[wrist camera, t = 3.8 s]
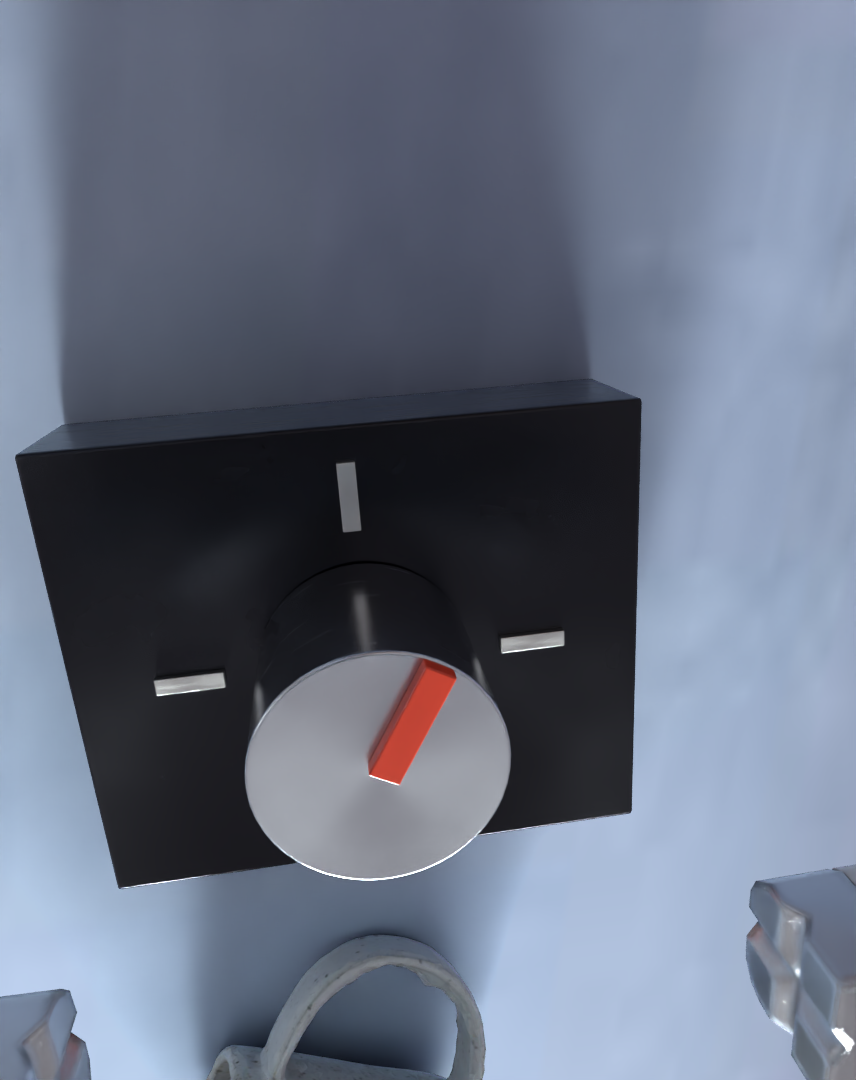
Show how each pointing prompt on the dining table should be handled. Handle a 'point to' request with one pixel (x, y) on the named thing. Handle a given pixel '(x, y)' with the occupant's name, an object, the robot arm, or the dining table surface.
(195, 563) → the black dial plate
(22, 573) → the dining table surface
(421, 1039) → the dining table surface
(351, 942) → the ceramic mug
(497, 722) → the silver dial knob
